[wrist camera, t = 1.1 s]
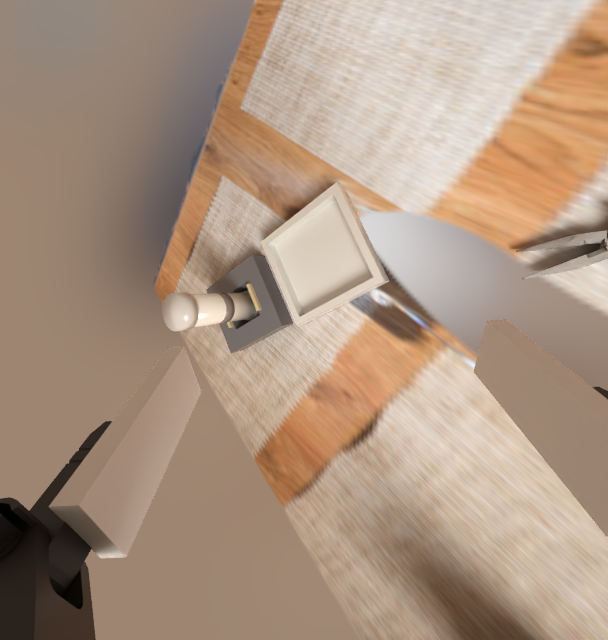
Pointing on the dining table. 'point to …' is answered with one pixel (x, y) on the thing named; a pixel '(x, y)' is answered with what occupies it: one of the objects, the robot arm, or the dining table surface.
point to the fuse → (206, 309)
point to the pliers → (601, 237)
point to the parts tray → (323, 257)
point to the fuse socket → (264, 296)
